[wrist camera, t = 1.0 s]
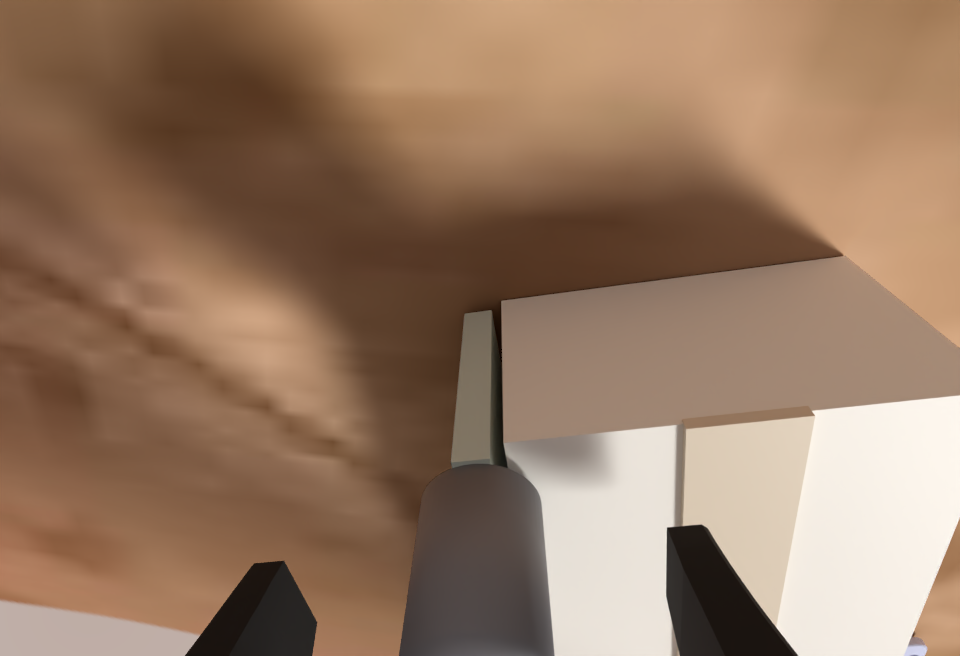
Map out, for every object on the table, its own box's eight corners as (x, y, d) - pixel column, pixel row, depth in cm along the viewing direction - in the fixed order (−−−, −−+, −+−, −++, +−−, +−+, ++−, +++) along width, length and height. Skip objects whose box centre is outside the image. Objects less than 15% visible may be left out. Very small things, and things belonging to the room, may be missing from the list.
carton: (786, 571, 23) (872, 749, 18) (548, 590, 24) (563, 762, 19) (845, 254, 16) (1020, 394, 11) (501, 299, 17) (503, 448, 12)
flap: (563, 590, 24) (597, 911, 16) (500, 595, 24) (502, 913, 16) (522, 306, 17) (547, 622, 8) (434, 317, 17) (377, 634, 9)
